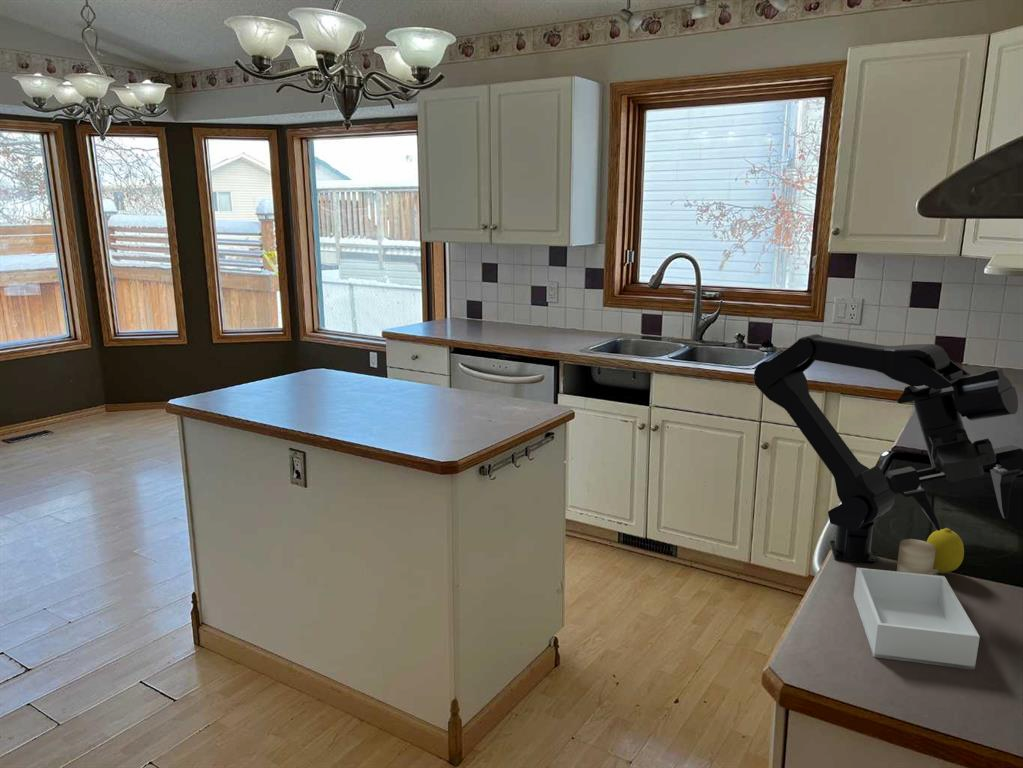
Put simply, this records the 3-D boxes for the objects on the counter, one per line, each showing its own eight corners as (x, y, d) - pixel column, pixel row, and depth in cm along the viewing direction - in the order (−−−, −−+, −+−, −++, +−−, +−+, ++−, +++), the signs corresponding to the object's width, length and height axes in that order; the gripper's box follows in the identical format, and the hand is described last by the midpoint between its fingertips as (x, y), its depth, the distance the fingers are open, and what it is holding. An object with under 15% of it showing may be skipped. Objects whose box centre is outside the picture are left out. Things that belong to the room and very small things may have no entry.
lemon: (965, 583, 120) (972, 537, 118) (928, 580, 121) (934, 534, 119) (953, 566, 125) (959, 522, 123) (917, 563, 126) (923, 520, 124)
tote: (853, 596, 116) (856, 567, 115) (940, 605, 113) (944, 576, 112) (873, 656, 102) (877, 624, 100) (974, 669, 98) (979, 636, 97)
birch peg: (891, 576, 122) (896, 537, 120) (925, 580, 121) (931, 540, 119) (899, 592, 117) (904, 551, 116) (934, 596, 116) (939, 555, 114)
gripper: (884, 445, 110) (915, 548, 109) (1027, 413, 104) (1061, 522, 103) (874, 437, 121) (902, 531, 120) (1003, 408, 115) (1033, 507, 114)
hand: (971, 524), depth 114 cm, fingers open, 9 cm apart
